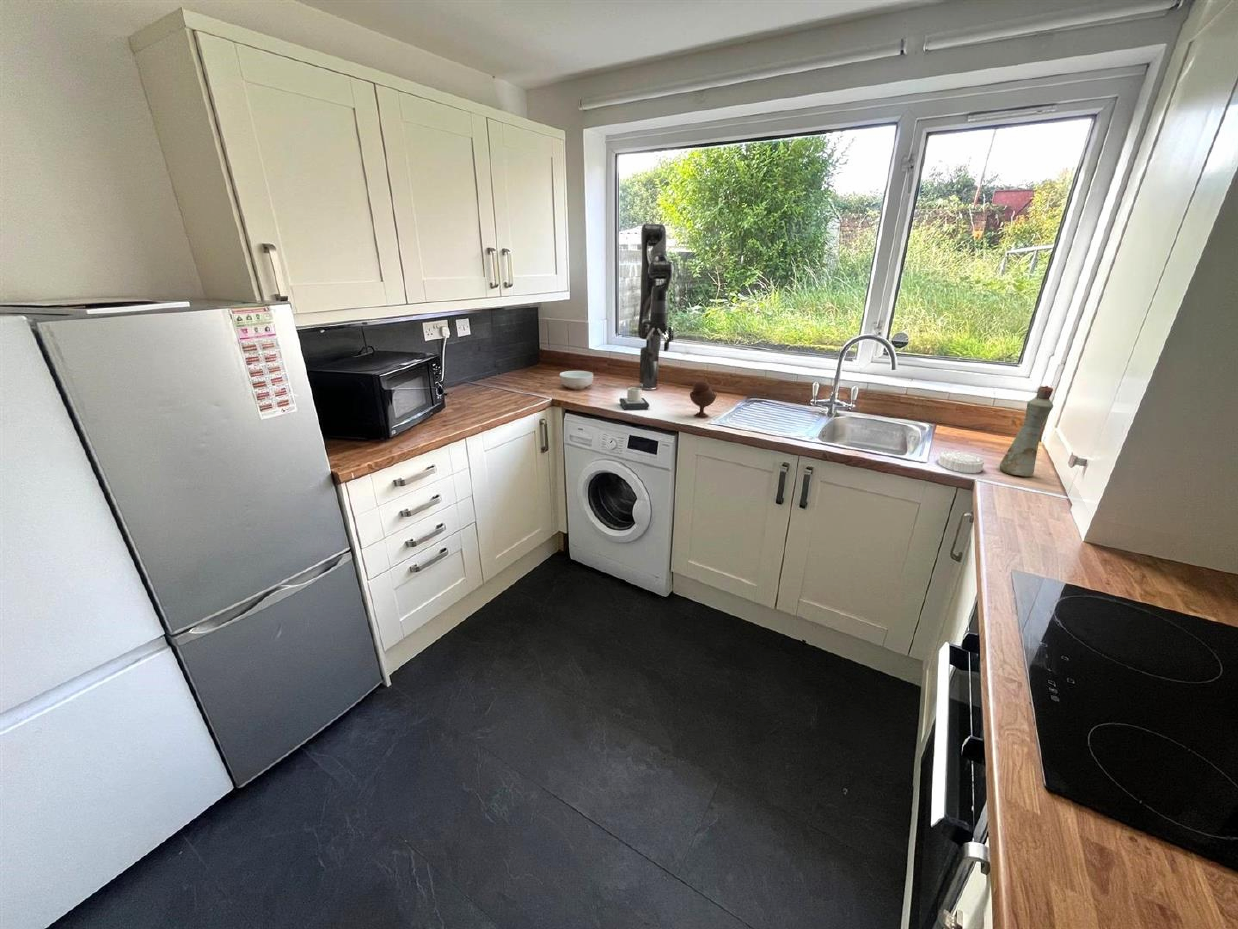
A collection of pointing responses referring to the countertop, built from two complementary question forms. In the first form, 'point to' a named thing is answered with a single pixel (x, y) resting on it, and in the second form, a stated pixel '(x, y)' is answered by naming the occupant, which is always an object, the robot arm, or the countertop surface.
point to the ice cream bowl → (702, 397)
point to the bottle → (1028, 436)
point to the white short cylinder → (634, 394)
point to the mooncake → (961, 462)
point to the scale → (634, 405)
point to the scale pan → (633, 402)
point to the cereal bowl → (576, 379)
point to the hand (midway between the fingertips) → (657, 349)
